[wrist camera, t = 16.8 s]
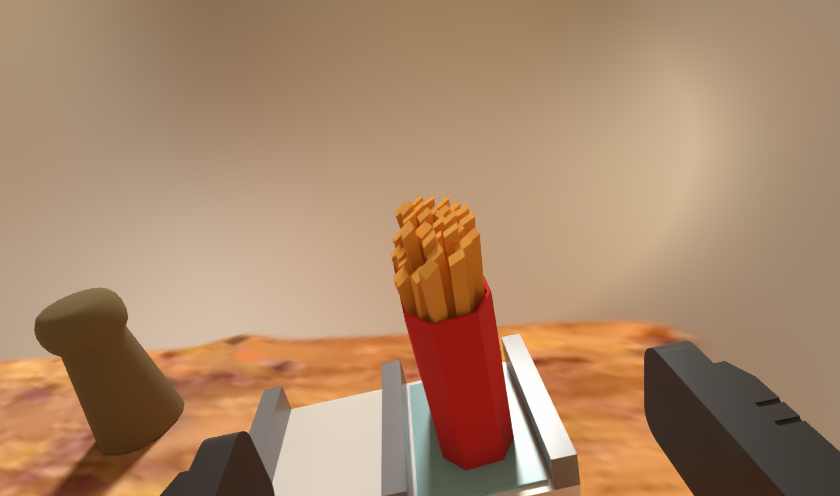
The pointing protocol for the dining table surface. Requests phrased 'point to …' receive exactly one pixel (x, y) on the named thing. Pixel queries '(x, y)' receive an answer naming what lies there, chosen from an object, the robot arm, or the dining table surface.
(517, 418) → the slot rack
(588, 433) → the dining table surface
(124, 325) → the cork
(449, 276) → the french fries
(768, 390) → the robot arm
